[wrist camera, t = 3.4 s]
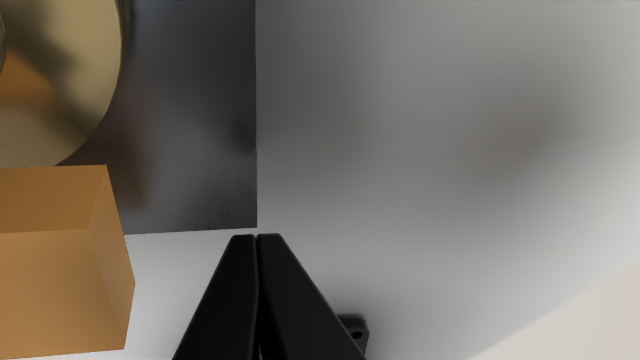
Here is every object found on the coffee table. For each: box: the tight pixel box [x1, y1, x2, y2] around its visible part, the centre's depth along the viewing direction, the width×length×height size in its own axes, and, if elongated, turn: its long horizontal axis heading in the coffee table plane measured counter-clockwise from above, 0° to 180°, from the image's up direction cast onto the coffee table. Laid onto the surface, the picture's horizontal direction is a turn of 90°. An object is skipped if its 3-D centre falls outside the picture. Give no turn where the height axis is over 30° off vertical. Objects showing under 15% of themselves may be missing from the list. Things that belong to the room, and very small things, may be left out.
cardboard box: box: [0, 165, 135, 360], centre depth 8 cm, size 3×3×2 cm
